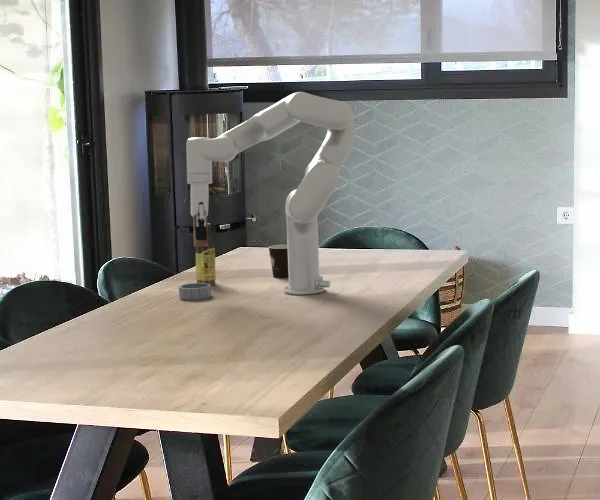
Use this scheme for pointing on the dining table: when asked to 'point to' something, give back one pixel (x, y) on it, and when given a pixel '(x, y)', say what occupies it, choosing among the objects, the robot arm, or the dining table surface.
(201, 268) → the sauce bottle
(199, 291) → the grey faceted dish
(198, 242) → the brown cylinder
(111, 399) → the dining table surface
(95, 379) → the dining table surface
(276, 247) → the coffee mug
